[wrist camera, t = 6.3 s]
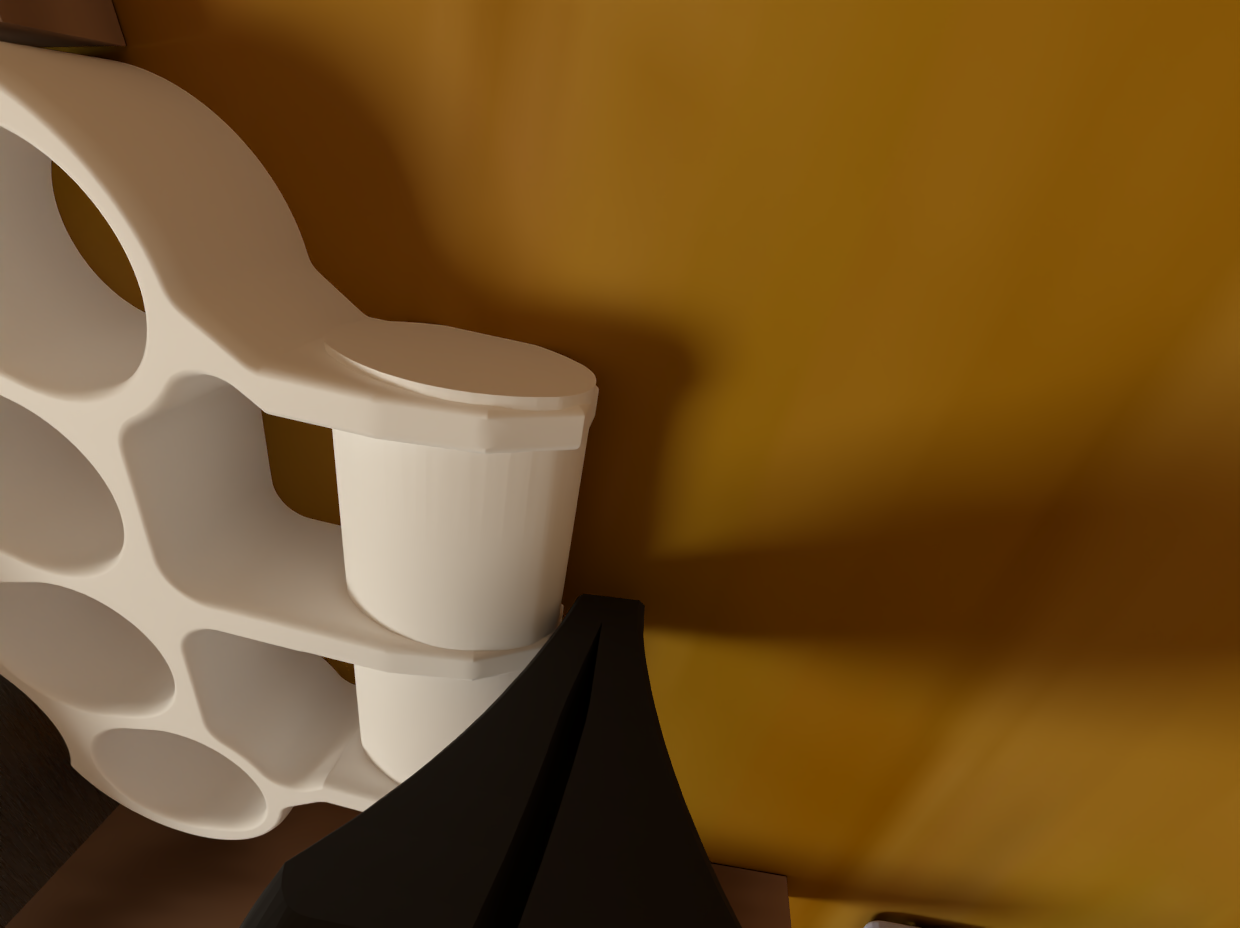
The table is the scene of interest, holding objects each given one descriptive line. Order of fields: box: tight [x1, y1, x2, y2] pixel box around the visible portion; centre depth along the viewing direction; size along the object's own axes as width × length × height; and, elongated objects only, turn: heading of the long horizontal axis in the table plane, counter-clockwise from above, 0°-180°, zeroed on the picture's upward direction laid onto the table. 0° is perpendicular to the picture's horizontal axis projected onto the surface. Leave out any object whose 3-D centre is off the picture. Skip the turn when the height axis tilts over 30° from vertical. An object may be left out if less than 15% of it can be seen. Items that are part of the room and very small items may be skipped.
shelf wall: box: [0, 0, 791, 928], centre depth 11 cm, size 23×23×7 cm
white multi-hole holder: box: [0, 41, 599, 840], centre depth 12 cm, size 3×18×15 cm
